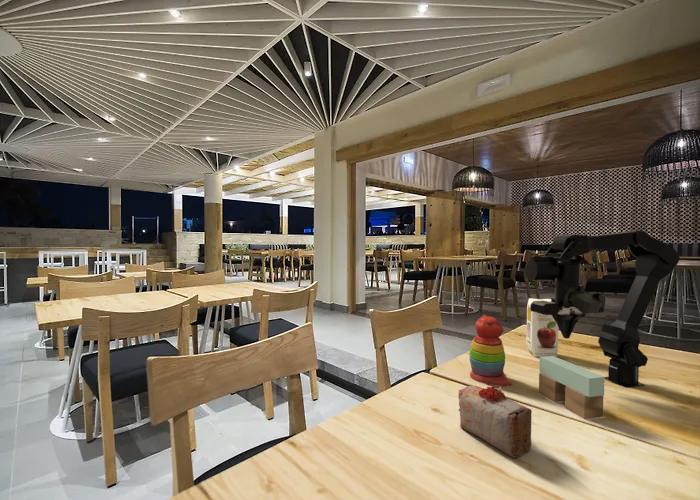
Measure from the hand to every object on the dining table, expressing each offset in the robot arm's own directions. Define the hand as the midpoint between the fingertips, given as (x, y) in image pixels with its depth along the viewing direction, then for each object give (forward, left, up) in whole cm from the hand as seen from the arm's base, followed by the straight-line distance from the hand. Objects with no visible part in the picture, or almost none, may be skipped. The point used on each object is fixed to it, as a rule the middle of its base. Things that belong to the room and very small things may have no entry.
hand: (566, 338), depth 94 cm
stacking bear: (+19, -7, -13) cm, 24 cm away
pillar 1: (+10, +7, -12) cm, 17 cm away
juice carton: (-12, -22, -13) cm, 28 cm away
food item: (+35, +19, -13) cm, 42 cm away
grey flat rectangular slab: (+6, +11, -12) cm, 18 cm away
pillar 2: (+10, +15, -12) cm, 22 cm away
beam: (+10, +11, -7) cm, 16 cm away
